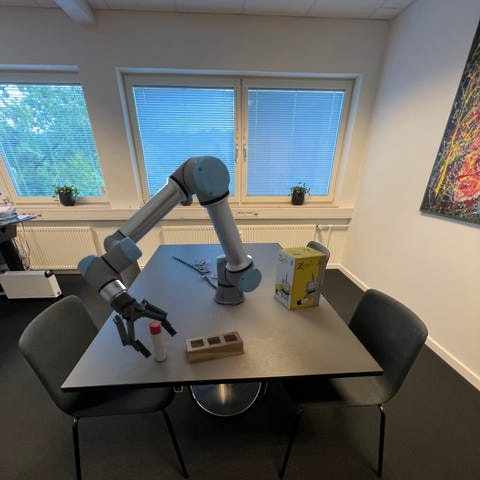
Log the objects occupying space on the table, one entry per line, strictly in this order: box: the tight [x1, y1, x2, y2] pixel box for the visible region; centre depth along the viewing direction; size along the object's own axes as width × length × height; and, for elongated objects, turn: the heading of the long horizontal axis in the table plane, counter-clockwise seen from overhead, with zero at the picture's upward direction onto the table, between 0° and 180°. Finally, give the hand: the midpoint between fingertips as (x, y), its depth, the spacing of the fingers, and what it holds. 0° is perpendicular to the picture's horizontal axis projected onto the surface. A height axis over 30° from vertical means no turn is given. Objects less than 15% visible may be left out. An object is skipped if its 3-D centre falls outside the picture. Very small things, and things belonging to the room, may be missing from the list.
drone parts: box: [194, 258, 217, 279], centre depth 171 cm, size 23×35×3 cm, turn 11°
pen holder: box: [184, 330, 244, 364], centre depth 93 cm, size 8×20×5 cm, turn 107°
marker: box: [148, 321, 167, 362], centre depth 88 cm, size 4×4×14 cm
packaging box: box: [274, 246, 328, 311], centre depth 126 cm, size 16×16×25 cm
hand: (163, 345), depth 87 cm, fingers open, 13 cm apart
